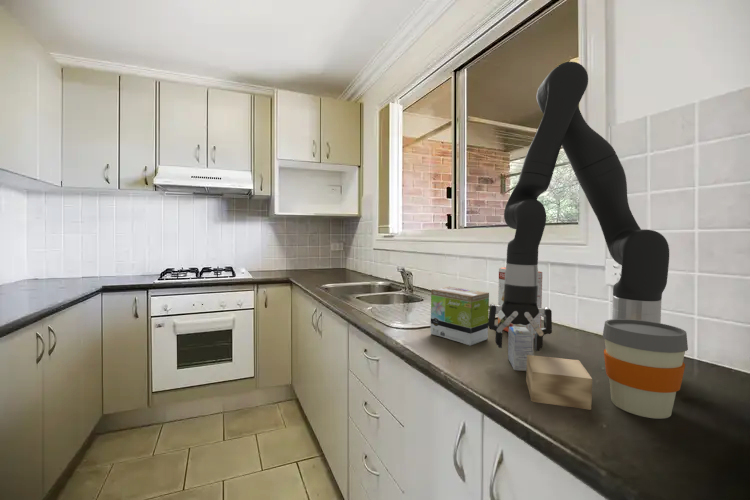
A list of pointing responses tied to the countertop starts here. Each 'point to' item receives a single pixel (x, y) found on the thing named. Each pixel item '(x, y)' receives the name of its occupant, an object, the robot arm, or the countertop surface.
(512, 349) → the medicine box
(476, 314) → the tea box
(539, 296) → the cracker box
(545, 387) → the oak block
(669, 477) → the countertop surface
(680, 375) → the reusable coffee cup
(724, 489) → the countertop surface
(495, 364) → the countertop surface
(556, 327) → the countertop surface
